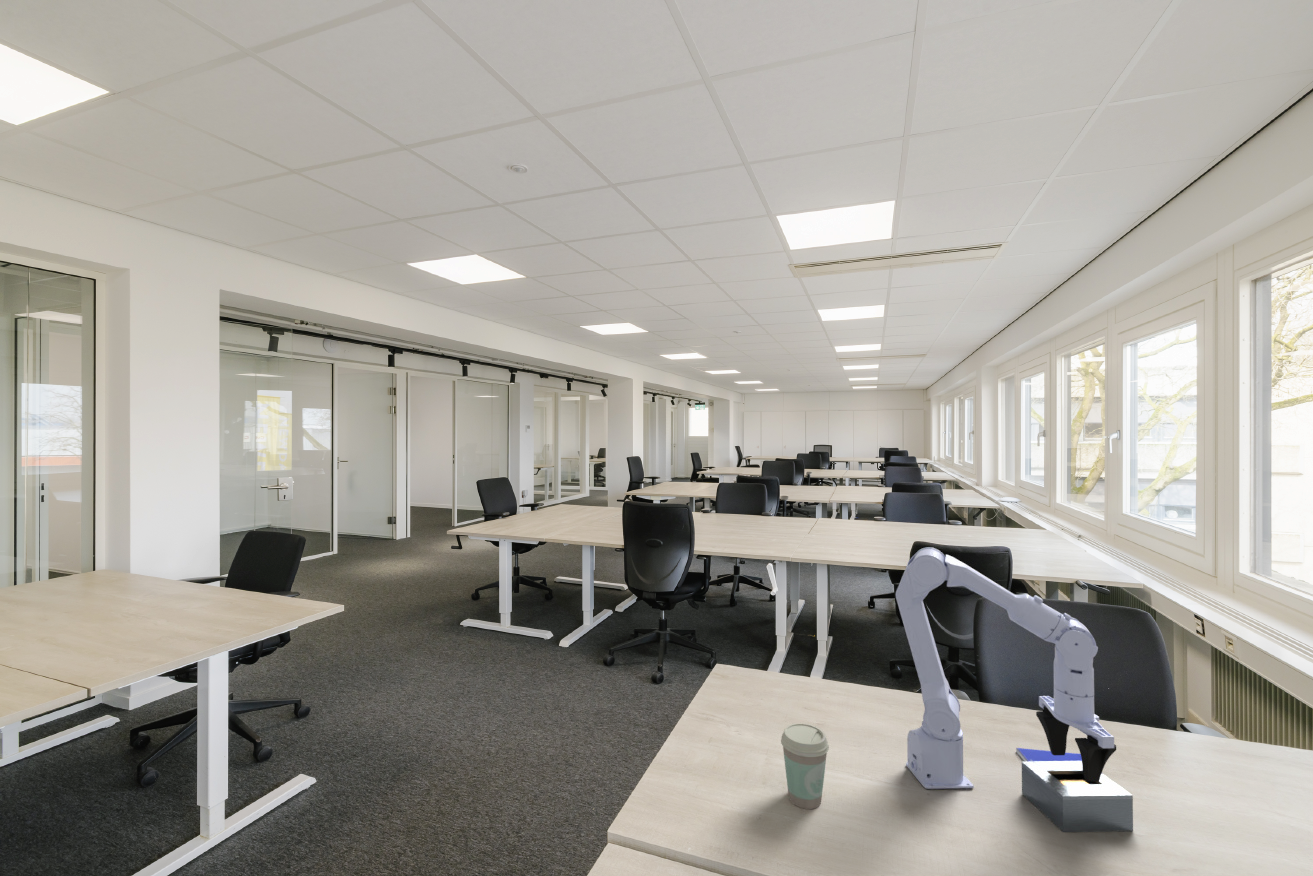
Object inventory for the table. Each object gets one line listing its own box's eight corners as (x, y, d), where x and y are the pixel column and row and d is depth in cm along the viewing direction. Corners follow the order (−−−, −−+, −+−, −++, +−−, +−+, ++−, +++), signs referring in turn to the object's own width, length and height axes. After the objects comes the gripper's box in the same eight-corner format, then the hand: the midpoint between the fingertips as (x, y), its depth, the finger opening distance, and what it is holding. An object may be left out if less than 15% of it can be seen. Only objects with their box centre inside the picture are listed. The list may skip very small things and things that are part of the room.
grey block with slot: (1063, 832, 91) (1062, 796, 91) (1021, 793, 101) (1021, 761, 101) (1133, 831, 91) (1132, 795, 91) (1084, 792, 101) (1084, 760, 101)
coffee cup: (803, 820, 94) (803, 750, 94) (771, 792, 102) (771, 728, 102) (839, 805, 98) (839, 738, 98) (806, 779, 106) (805, 717, 106)
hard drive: (1035, 769, 107) (1106, 776, 105) (1016, 746, 115) (1081, 752, 113) (1035, 777, 107) (1106, 784, 105) (1016, 754, 115) (1081, 760, 113)
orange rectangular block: (1066, 814, 95) (1066, 788, 95) (1056, 805, 97) (1055, 780, 97) (1094, 814, 95) (1094, 788, 95) (1084, 805, 97) (1083, 780, 97)
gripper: (1132, 709, 89) (1133, 792, 89) (1064, 672, 104) (1064, 743, 104) (1090, 710, 89) (1091, 793, 89) (1027, 673, 104) (1028, 744, 104)
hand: (1074, 766), depth 96 cm, fingers open, 7 cm apart
